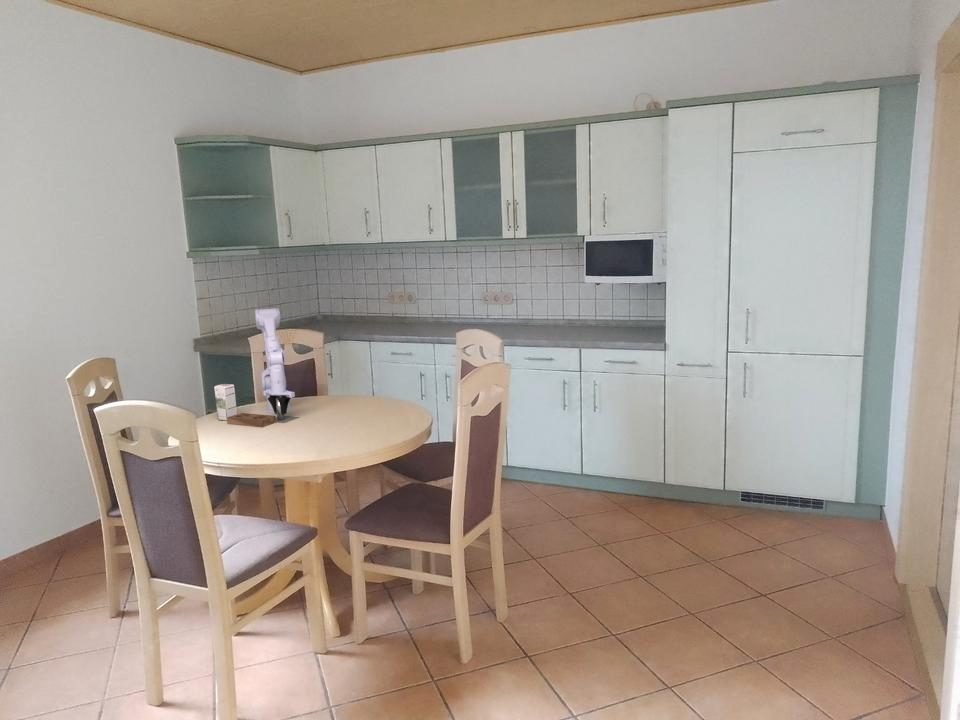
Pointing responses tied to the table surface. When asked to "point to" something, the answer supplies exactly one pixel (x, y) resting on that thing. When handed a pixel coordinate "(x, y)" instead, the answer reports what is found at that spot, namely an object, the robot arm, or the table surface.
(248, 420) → the walnut hole block
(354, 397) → the table surface
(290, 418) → the rubber mat
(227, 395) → the syrup box
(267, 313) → the robot arm
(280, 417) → the peg
